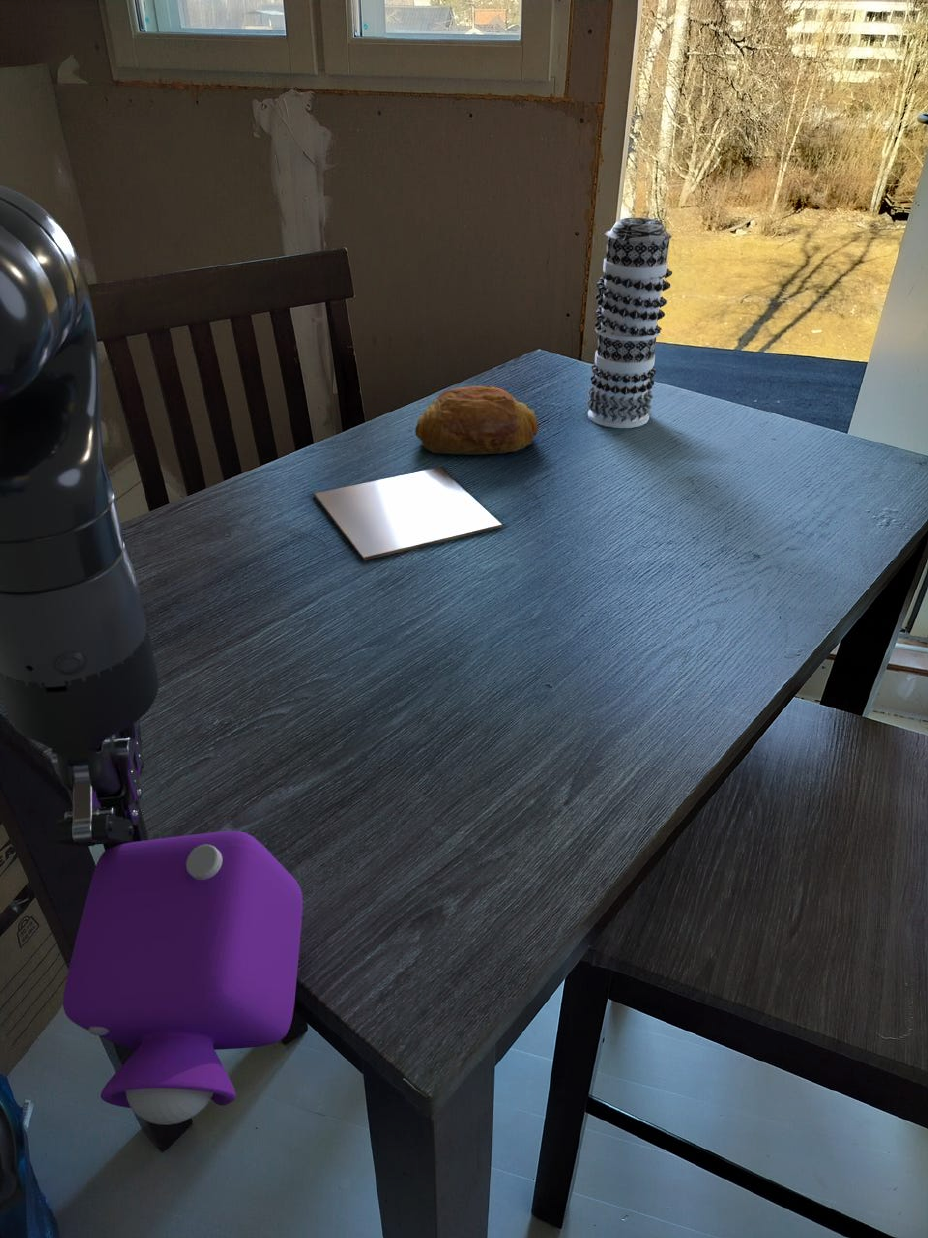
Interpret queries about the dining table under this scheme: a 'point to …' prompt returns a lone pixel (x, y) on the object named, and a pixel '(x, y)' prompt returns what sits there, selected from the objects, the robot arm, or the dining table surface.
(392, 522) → the square metal plate
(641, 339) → the decorative candle
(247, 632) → the dining table surface
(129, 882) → the toy camera
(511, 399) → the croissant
